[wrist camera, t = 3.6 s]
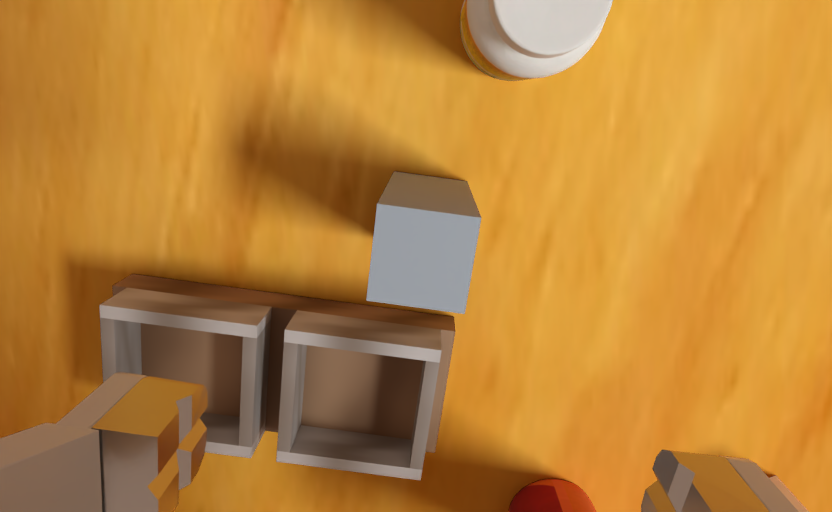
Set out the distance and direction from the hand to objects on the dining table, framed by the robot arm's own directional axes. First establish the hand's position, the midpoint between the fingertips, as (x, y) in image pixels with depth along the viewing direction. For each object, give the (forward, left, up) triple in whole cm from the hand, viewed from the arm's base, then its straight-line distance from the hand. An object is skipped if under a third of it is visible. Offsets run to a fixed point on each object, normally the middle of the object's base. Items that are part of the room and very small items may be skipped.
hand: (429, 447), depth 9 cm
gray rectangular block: (0, 0, -21) cm, 21 cm away
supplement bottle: (-3, -10, -21) cm, 23 cm away
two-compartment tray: (+7, +10, -21) cm, 24 cm away
